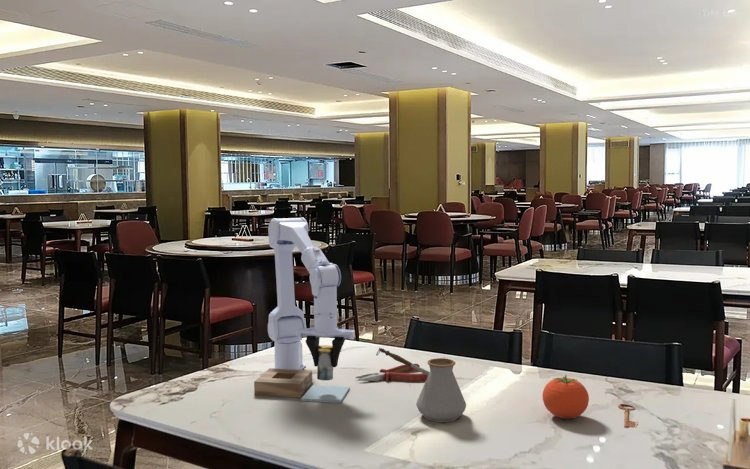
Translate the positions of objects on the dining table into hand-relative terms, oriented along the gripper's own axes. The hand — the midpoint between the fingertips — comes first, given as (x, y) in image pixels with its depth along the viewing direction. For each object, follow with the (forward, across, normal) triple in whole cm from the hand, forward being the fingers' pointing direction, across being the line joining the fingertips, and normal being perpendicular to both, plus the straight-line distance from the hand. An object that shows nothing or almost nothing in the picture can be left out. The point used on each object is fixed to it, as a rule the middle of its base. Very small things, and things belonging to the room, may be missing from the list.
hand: (325, 365), depth 167 cm
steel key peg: (+3, 0, 0) cm, 3 cm away
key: (+8, +73, -4) cm, 74 cm away
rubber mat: (+8, 0, 0) cm, 8 cm away
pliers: (+8, +15, +19) cm, 25 cm away
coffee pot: (+8, +25, -10) cm, 28 cm away
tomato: (+8, +58, -7) cm, 59 cm away
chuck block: (+8, -12, +3) cm, 14 cm away
